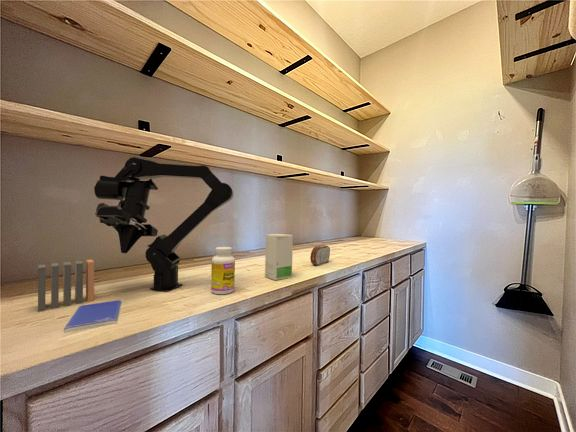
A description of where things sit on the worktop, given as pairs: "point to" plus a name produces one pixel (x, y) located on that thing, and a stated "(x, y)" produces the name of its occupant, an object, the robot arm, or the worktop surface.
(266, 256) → the skincare box
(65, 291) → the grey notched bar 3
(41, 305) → the domino
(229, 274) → the supplement bottle
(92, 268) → the domino
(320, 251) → the tin
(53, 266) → the domino
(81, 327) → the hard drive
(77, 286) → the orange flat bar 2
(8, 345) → the worktop surface
